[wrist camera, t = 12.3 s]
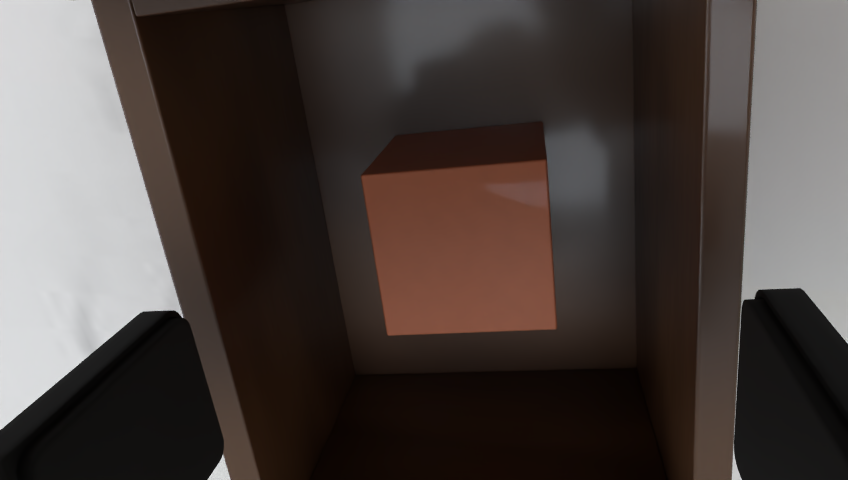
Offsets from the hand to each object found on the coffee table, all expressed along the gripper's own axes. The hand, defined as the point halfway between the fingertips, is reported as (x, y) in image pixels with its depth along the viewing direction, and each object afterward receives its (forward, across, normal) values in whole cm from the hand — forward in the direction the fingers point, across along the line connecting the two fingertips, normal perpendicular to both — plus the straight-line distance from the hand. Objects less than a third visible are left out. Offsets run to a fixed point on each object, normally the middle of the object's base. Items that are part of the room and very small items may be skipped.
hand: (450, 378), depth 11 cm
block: (+11, +1, 0) cm, 11 cm away
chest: (+11, +1, 0) cm, 11 cm away
